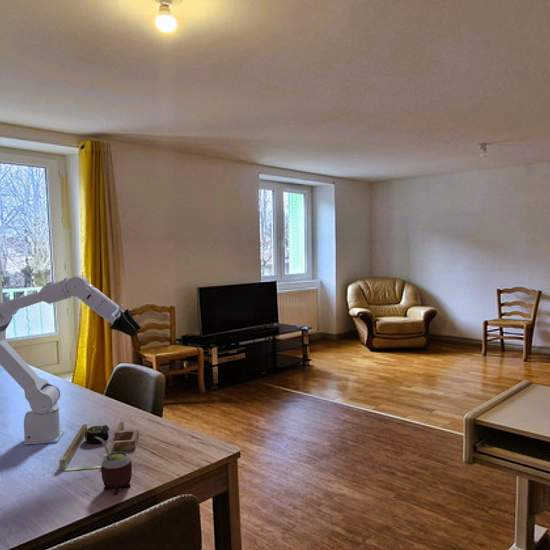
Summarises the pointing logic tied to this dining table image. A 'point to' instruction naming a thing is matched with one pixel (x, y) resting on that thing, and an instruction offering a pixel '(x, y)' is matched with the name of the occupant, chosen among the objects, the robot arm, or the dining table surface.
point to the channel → (122, 442)
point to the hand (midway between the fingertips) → (137, 332)
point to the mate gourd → (116, 470)
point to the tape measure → (96, 433)
